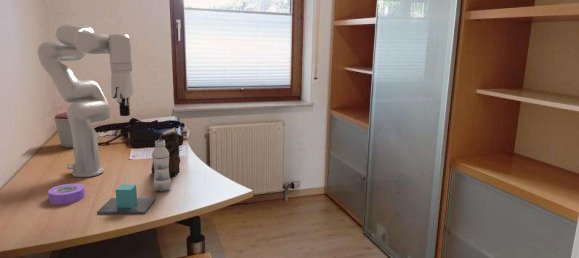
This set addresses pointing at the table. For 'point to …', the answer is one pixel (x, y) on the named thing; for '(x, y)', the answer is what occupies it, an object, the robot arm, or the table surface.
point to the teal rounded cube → (126, 196)
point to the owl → (171, 151)
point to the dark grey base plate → (138, 208)
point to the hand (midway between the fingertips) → (125, 115)
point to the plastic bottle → (161, 166)
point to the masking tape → (66, 193)
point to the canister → (64, 129)
